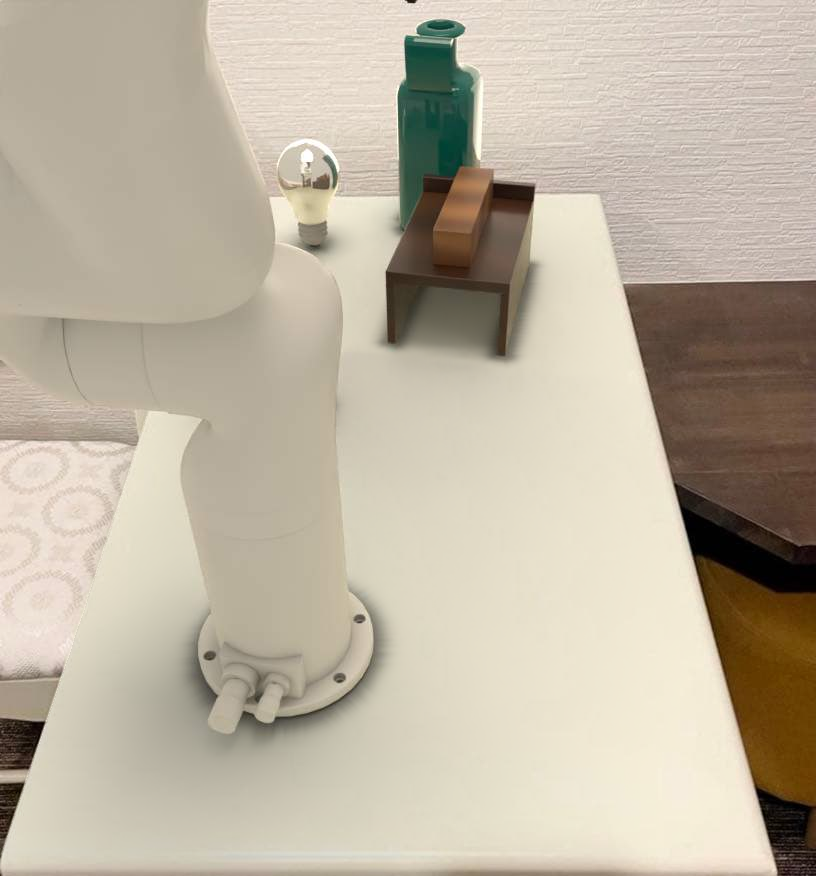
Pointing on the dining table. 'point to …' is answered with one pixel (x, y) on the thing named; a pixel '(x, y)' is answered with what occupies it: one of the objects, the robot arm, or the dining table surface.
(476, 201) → the brown wooden bar
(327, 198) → the light bulb
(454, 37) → the green glass bottle
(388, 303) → the shelf
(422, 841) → the dining table surface
